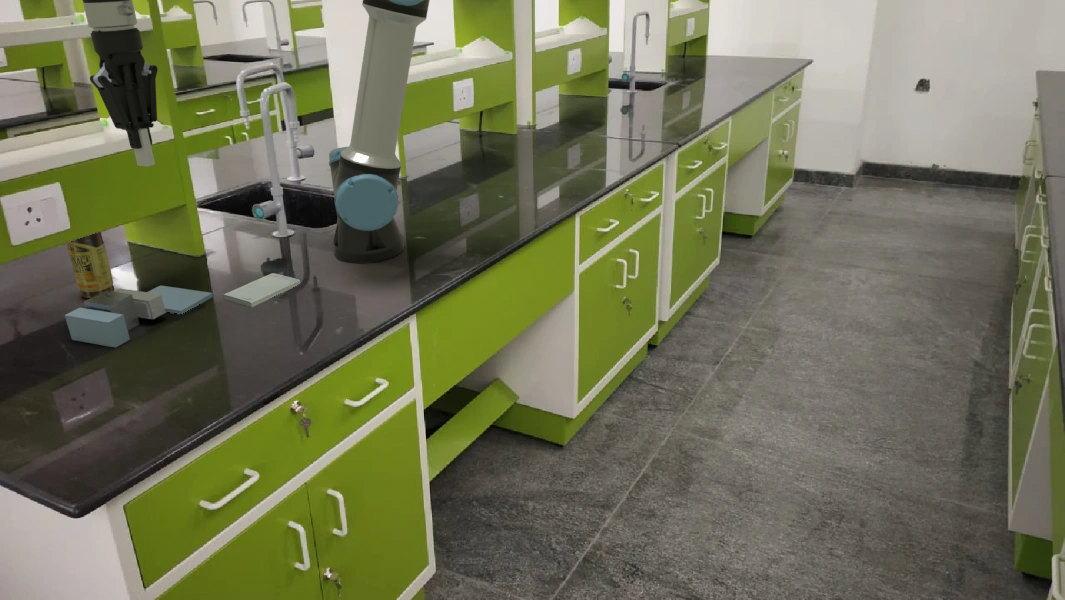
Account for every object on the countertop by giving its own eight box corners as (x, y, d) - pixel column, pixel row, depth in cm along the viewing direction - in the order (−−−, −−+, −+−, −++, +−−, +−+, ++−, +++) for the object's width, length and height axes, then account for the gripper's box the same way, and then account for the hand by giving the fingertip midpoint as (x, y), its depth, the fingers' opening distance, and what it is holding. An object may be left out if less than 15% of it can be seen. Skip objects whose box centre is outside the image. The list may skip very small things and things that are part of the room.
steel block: (139, 324, 147) (131, 294, 144) (118, 336, 143) (109, 305, 140) (114, 320, 149) (106, 290, 146) (92, 332, 145) (83, 301, 142)
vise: (213, 296, 157) (208, 273, 155) (122, 348, 138) (115, 323, 136) (161, 289, 161) (155, 266, 160) (65, 338, 142) (58, 314, 140)
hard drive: (251, 302, 152) (300, 278, 161) (221, 294, 156) (271, 271, 165) (252, 310, 152) (301, 286, 162) (223, 301, 156) (272, 279, 166)
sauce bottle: (73, 297, 159) (45, 200, 151) (100, 285, 164) (74, 191, 156) (97, 302, 157) (69, 203, 148) (123, 290, 162) (98, 194, 153)
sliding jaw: (165, 312, 148) (161, 294, 147) (151, 320, 145) (147, 302, 144) (109, 303, 153) (104, 286, 151) (94, 310, 150) (89, 293, 148)
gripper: (99, 32, 130) (134, 175, 140) (160, 23, 141) (188, 157, 151) (65, 32, 132) (101, 173, 142) (127, 23, 143) (157, 154, 153)
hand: (146, 164), depth 146 cm, fingers closed
